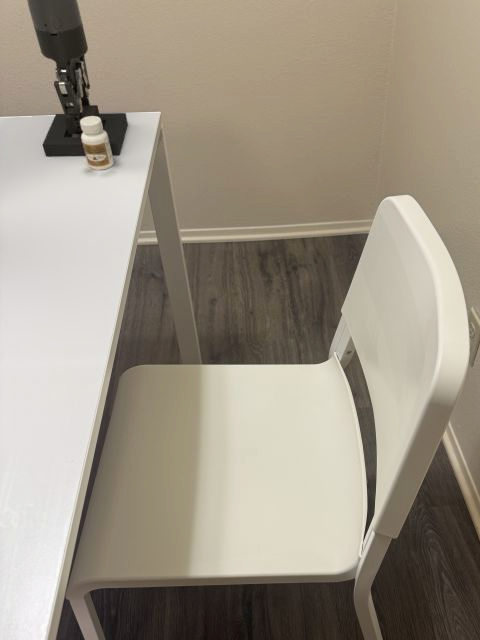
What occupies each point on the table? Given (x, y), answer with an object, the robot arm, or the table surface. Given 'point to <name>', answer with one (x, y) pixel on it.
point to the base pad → (67, 145)
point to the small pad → (88, 111)
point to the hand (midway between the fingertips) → (84, 125)
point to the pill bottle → (96, 143)
